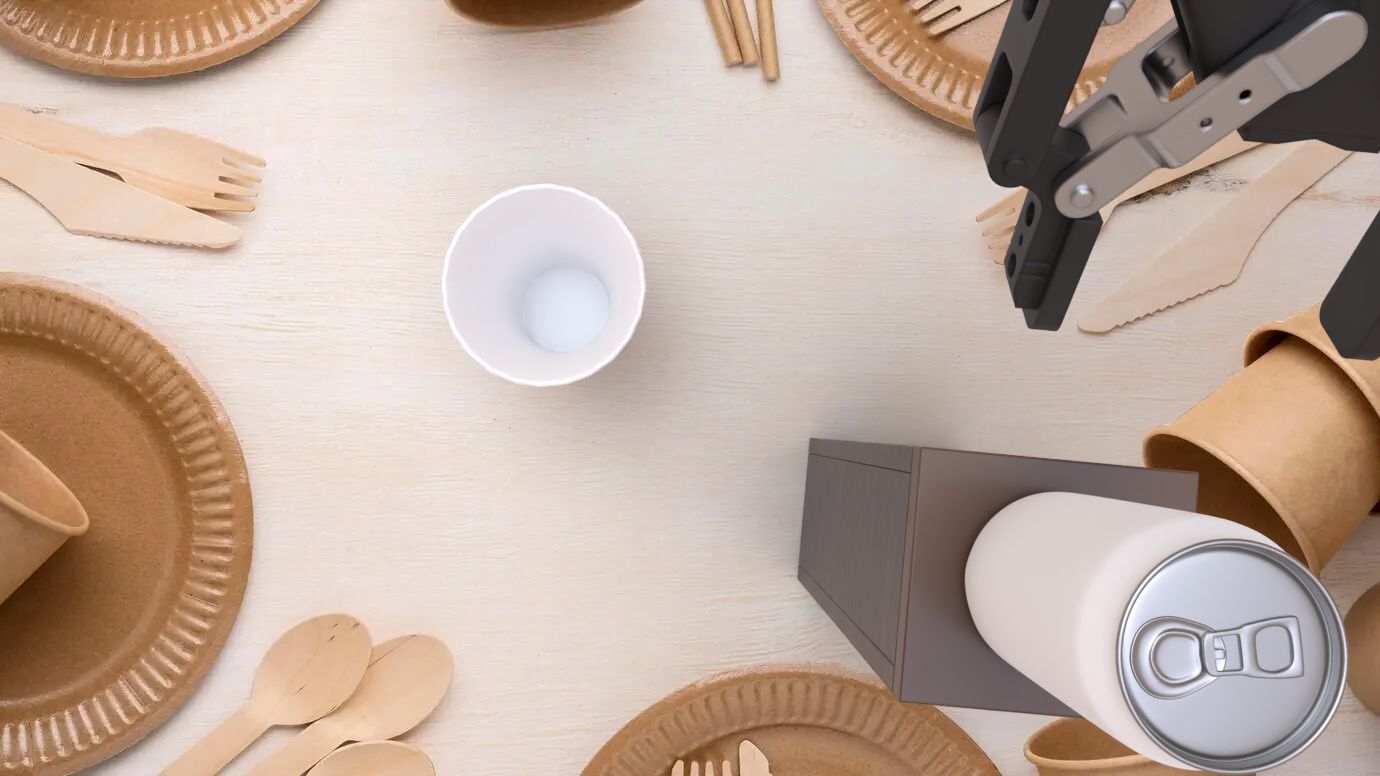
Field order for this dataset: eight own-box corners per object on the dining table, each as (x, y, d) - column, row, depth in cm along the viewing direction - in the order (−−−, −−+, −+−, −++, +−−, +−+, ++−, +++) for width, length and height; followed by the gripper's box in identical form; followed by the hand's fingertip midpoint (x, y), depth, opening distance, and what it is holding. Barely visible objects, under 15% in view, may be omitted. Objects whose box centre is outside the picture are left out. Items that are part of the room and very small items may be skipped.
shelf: (1184, 471, 39) (1200, 472, 37) (1165, 718, 38) (1181, 728, 37) (913, 445, 38) (920, 446, 37) (891, 694, 38) (899, 703, 37)
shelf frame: (965, 452, 67) (1184, 471, 39) (953, 593, 67) (1165, 718, 38) (809, 437, 67) (913, 445, 38) (797, 579, 67) (891, 694, 38)
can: (952, 498, 37) (1085, 533, 25) (1133, 482, 37) (1352, 508, 25) (970, 683, 37) (1113, 806, 25) (1152, 665, 37) (1382, 780, 25)
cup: (648, 398, 67) (642, 391, 54) (483, 392, 67) (435, 383, 53) (654, 234, 67) (650, 186, 54) (490, 228, 67) (444, 178, 54)
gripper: (1230, -432, 15) (949, 398, 26) (2208, -330, 15) (1518, 448, 26) (1102, -474, 20) (916, 225, 31) (1822, -399, 21) (1386, 268, 32)
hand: (1190, 326), depth 29 cm, fingers open, 8 cm apart
